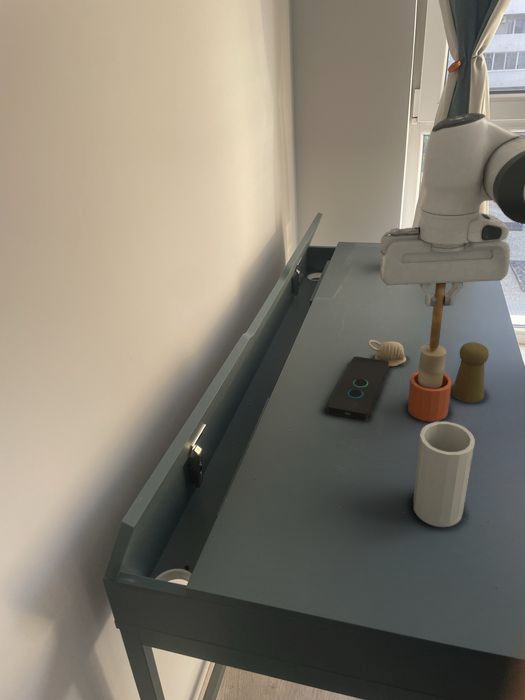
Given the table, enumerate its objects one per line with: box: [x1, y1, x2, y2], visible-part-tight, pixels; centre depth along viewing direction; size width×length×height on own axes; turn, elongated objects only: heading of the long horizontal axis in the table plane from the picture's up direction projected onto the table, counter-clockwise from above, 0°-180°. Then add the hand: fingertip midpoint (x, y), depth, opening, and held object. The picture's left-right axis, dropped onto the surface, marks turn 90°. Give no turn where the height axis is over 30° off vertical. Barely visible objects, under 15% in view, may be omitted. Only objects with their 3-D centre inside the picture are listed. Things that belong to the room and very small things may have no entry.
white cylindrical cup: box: [412, 421, 476, 528], centre depth 77 cm, size 7×7×14 cm
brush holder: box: [407, 370, 453, 423], centre depth 100 cm, size 7×7×7 cm
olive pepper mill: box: [451, 341, 490, 403], centre depth 103 cm, size 6×6×11 cm
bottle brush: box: [418, 283, 447, 389], centre depth 93 cm, size 4×4×22 cm
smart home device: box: [327, 355, 390, 421], centre depth 109 cm, size 8×2×20 cm
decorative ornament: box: [367, 339, 407, 367], centre depth 117 cm, size 4×8×5 cm, turn 75°
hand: (438, 304), depth 91 cm, fingers closed on bottle brush
